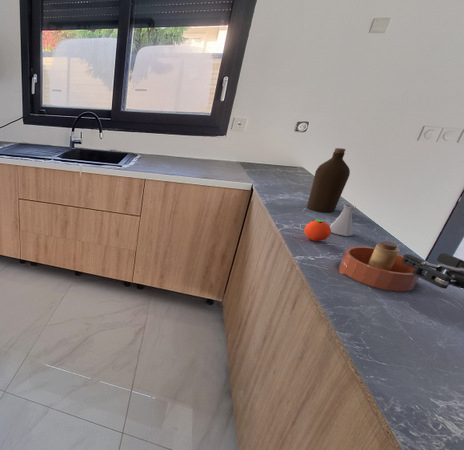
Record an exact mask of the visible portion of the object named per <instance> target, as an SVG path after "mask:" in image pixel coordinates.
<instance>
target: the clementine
mask: <svg viewBox="0 0 464 450" xmlns="http://www.w3.org/2000/svg"><path fill="white" fill-rule="evenodd" d="M303 230H304V235H305V236H306V238H308V239H309V240H310V241H313V242H322V241H325V240H327V239H328V238H329V237H330V236H331V234H332V232H331V228H330V224H328V223H327V222H326V221H323V220H321V219H312V220H311V221H310V222H308V223H307V224H306V225H305V227H304V229H303Z"/></svg>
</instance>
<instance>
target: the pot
mask: <svg viewBox="0 0 464 450" xmlns="http://www.w3.org/2000/svg"><path fill="white" fill-rule="evenodd" d="M374 249H375V247H371V246H364V245H363V246H362V245H361V246H357V245H356V246H351V247H347V249H345V250H344V253H343V255H342V258H341V261H340V263H339V266H338V272H339V274H341V275H346V276H348V277H349V278H351V279H353V280H354V281H357V282H359V283H362V284H364V285H368V286H370V287H373V288H377V289H382V290H384V291H394V292H408V291H411V290H414V288H415V286H416V285H417V282H418V281H419V278H420V277H418V276H416V275H414V274H412V272H413V271H414V268H412V267H410V266H408V265H406V264H404V263H403V262H402V259H403V257H404V255H402V254H398V256H397V258H396V260H395V262H394V264H393V266H392V268H391V270H390V271H387V270H382V269H378V268H375V267H372V266H369V265H368V263H369V260H370V258H371V256H372V254H373V251H374Z"/></svg>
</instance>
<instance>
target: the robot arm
mask: <svg viewBox="0 0 464 450" xmlns="http://www.w3.org/2000/svg"><path fill="white" fill-rule="evenodd" d="M403 256H404V257H403V259H402V262H403V263H404V264H406V265H408V266H410V267H412V268H414V271H413V272H412V274H414V275H416V276H418V277H419V278H420V279H422V280H424V281H426V282H428V283H430V284H432V285H434V286H436V287H439V288H441V289H444V290H445V289H447V288H448V287H449V286H452V287H455V288H457V289H462V290H464V259H462V258H461V259H460V258H458V257H456V256H454V255H451V254H448V253H447V252H440V253H439V255H438V257H437V258H436V261H437V262H439V264H434V263H431V262H428V261H425V260H423V259H421V258H418V257H416V256H415V255H412V254H410V253H409V254H407V253H406V254H403ZM442 271H445V272H444V273H443V272H442Z"/></svg>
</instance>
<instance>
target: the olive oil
mask: <svg viewBox="0 0 464 450" xmlns="http://www.w3.org/2000/svg"><path fill="white" fill-rule="evenodd" d="M345 152H346V148H340V147H339V148H338V147H336V148H334V151H333V152H332V153H333V154H332V156H331V158H330V159H327V160H326V161H324V162H323V163H321V164H320V165H318V167H317V168H316V170H315V171H314V172H315V173H314V175H313V176H314V177H313V180H312V185H311V189H310V193H309V197H308V200H307V204H306V207H307V209H309V210H312V211H314V212H320V213H333V212H335V211H336V209H337V207H338V203H339V201H340V198H341V196H342V194H343V191H344V189H345V187H346V185H347V182H348V180H349V177H350V175H351V171H350V167H349V166H348V164H347V163H346V162H345V160H344V156H345V154H346V153H345Z"/></svg>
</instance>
